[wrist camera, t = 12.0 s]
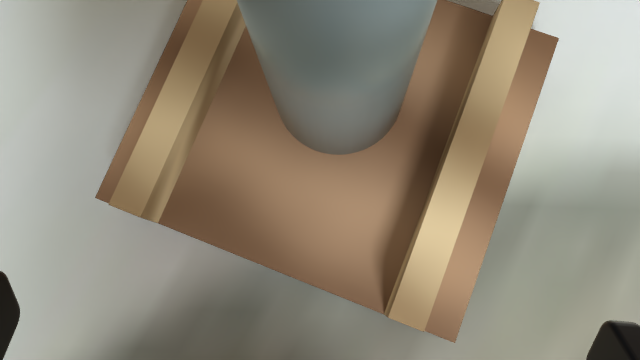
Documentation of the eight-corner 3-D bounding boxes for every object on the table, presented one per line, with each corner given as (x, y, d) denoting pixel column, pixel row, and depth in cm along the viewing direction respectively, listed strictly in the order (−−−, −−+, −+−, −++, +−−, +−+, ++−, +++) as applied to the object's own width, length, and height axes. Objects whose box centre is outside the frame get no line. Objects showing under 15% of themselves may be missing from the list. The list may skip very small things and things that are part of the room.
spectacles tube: (422, 128, 20) (556, -131, 8) (301, 173, 20) (231, -14, 8) (374, 16, 21) (423, -384, 9) (258, 58, 21) (131, -282, 8)
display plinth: (444, 337, 21) (466, 349, 17) (116, 205, 22) (71, 189, 19) (540, 59, 23) (578, 15, 19) (232, -47, 24) (212, -106, 21)
